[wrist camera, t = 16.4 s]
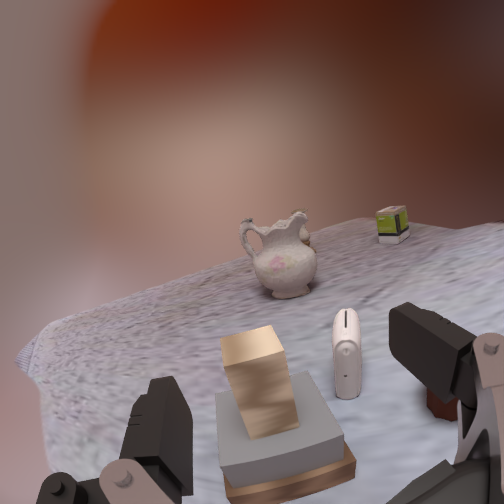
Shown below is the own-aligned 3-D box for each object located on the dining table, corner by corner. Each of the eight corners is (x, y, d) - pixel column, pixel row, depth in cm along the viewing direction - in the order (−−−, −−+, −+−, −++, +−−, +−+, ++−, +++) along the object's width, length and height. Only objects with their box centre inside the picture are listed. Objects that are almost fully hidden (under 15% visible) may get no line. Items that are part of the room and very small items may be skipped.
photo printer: (361, 399, 35) (361, 333, 33) (334, 401, 37) (329, 336, 34) (361, 360, 45) (358, 300, 42) (338, 362, 46) (333, 303, 44)
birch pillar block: (287, 398, 28) (270, 324, 26) (299, 426, 23) (284, 350, 21) (244, 409, 28) (220, 338, 26) (251, 440, 23) (223, 366, 21)
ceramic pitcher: (253, 313, 79) (234, 229, 72) (252, 286, 97) (236, 216, 90) (327, 298, 78) (316, 213, 71) (312, 274, 97) (302, 203, 89)
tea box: (392, 235, 124) (388, 205, 121) (410, 236, 116) (406, 205, 113) (378, 244, 116) (374, 211, 113) (398, 244, 108) (394, 210, 105)
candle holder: (295, 257, 125) (287, 212, 121) (300, 251, 133) (292, 209, 129) (313, 255, 121) (306, 209, 117) (318, 250, 129) (310, 207, 125)
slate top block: (311, 397, 34) (307, 370, 33) (343, 459, 22) (344, 434, 21) (225, 419, 33) (215, 393, 32) (233, 488, 21) (219, 466, 20)
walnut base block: (316, 413, 36) (314, 390, 35) (354, 479, 22) (356, 460, 21) (226, 437, 34) (216, 416, 33) (238, 513, 21) (226, 497, 20)
